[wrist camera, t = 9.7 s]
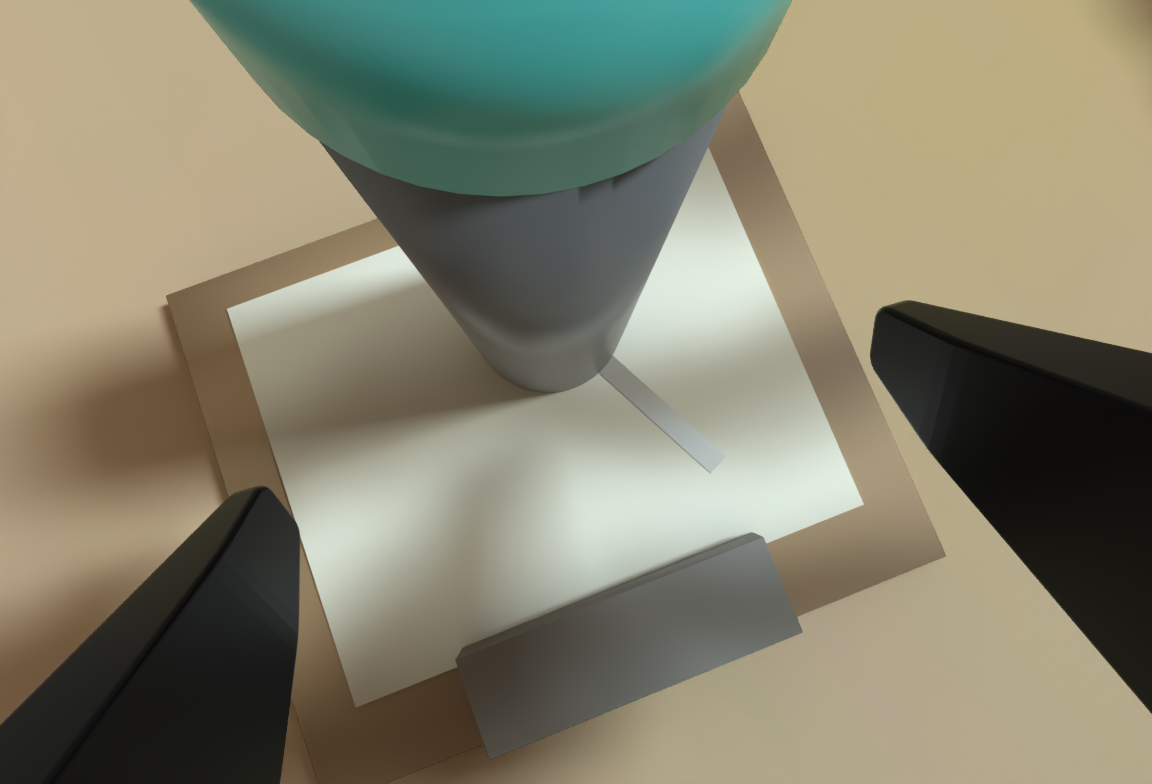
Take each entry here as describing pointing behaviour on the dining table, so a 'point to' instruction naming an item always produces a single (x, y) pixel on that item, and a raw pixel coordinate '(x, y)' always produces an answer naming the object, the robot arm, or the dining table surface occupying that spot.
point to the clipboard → (550, 478)
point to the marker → (513, 144)
